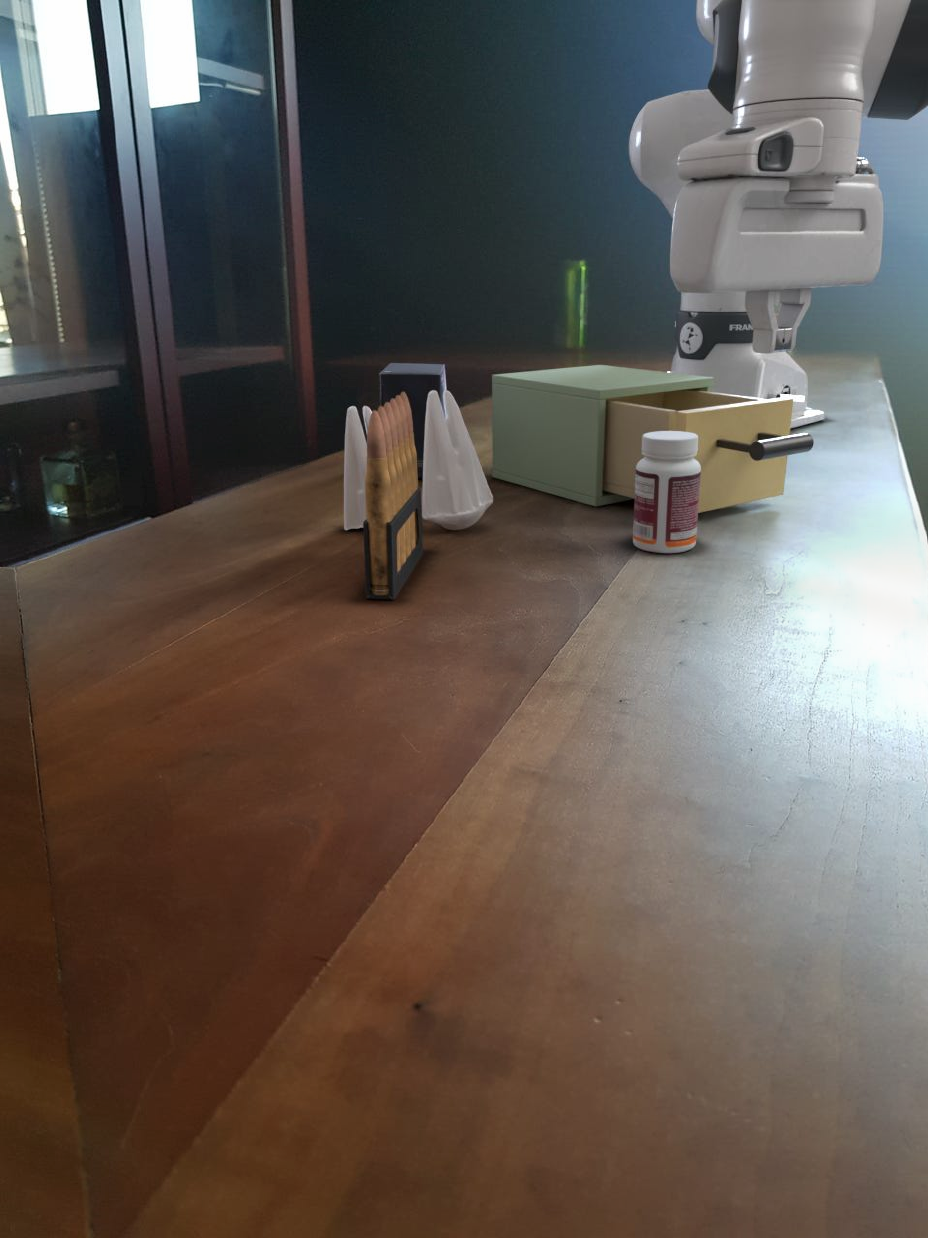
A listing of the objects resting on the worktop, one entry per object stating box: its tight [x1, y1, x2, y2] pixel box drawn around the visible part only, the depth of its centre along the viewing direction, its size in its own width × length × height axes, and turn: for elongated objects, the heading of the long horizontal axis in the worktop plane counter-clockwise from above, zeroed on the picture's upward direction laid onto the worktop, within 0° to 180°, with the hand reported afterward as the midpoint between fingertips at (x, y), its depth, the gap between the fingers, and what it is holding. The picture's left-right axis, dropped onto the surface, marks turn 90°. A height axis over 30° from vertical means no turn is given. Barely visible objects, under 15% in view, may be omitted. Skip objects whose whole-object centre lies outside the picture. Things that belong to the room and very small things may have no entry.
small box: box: [378, 362, 447, 479], centre depth 98 cm, size 11×6×10 cm, turn 179°
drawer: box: [602, 389, 815, 514], centre depth 82 cm, size 20×13×8 cm, turn 34°
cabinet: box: [491, 364, 714, 507], centre depth 91 cm, size 16×14×10 cm
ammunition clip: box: [362, 392, 424, 601], centre depth 64 cm, size 11×2×12 cm, turn 172°
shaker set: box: [343, 389, 494, 531], centre depth 76 cm, size 12×4×11 cm, turn 81°
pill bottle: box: [632, 431, 701, 554], centre depth 71 cm, size 5×5×8 cm
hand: (773, 352), depth 73 cm, fingers closed
